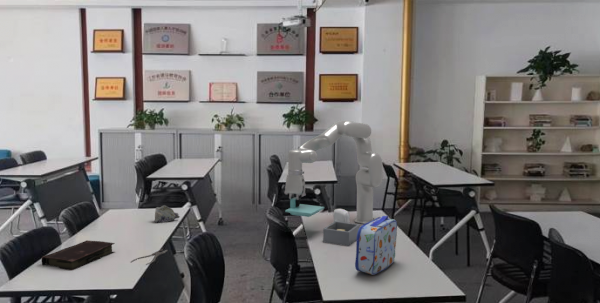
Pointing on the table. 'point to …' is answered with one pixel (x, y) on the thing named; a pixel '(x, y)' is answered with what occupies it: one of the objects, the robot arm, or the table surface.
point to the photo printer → (341, 216)
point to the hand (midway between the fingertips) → (294, 205)
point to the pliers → (152, 255)
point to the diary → (78, 255)
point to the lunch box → (376, 245)
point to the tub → (340, 233)
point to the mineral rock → (165, 214)
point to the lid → (302, 209)
